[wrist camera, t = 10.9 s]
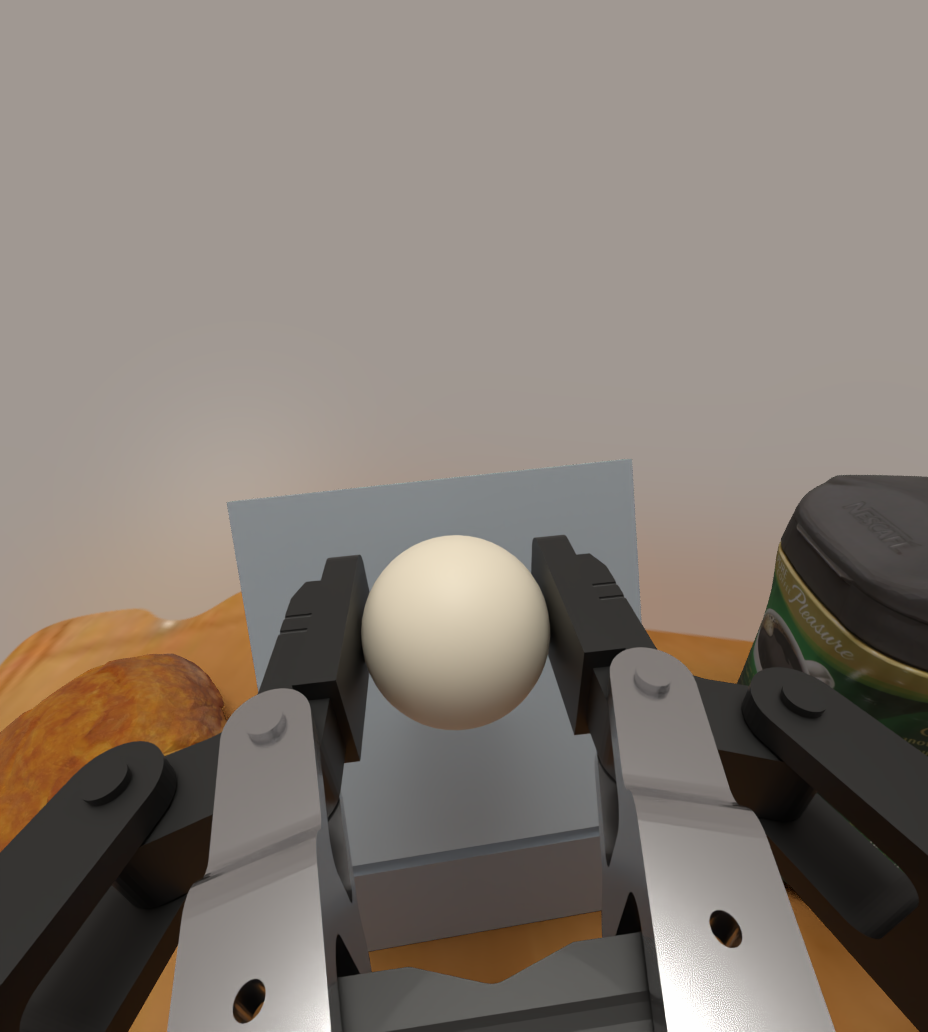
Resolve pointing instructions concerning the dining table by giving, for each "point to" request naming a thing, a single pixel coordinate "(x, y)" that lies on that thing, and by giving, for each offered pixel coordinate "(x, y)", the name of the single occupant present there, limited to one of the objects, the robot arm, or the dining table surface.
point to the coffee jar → (855, 599)
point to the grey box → (479, 888)
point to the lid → (449, 644)
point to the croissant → (101, 727)
